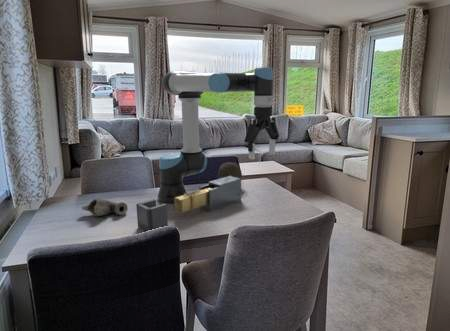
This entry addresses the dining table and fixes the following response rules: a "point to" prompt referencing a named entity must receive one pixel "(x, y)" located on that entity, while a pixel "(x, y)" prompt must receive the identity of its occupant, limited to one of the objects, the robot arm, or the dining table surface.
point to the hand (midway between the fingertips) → (262, 156)
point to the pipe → (105, 207)
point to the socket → (151, 215)
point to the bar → (192, 200)
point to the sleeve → (223, 192)
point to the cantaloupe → (229, 170)
